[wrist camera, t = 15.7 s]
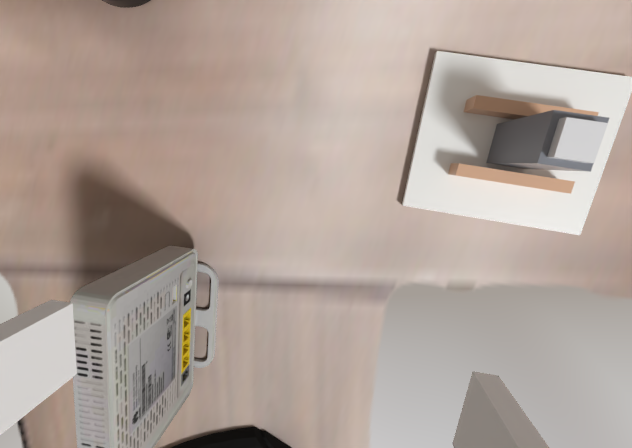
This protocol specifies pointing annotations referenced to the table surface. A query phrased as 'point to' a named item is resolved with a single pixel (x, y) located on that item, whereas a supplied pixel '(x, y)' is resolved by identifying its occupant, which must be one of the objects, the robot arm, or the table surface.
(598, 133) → the connector plug
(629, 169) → the table surface
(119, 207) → the table surface
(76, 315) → the network device
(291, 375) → the table surface
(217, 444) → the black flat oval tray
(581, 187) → the end holder
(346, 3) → the table surface
